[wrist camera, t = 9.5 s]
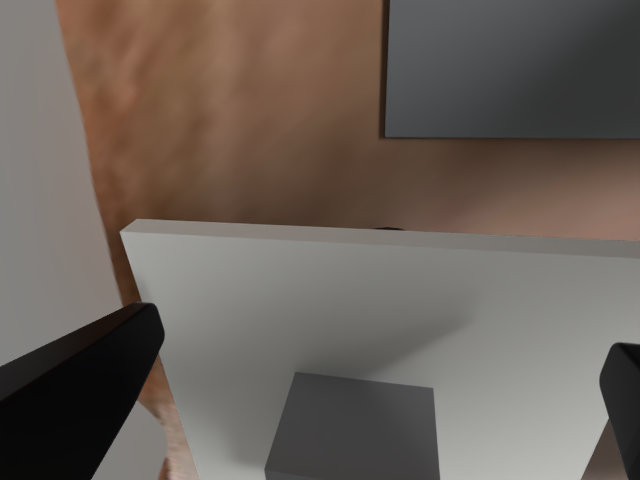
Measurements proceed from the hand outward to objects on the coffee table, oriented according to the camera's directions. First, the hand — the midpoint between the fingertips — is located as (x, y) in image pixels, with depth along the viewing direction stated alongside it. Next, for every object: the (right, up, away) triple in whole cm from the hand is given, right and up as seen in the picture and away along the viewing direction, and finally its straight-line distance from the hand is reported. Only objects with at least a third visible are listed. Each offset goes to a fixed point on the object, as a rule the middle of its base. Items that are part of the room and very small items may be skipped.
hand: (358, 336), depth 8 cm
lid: (+1, -3, +5) cm, 6 cm away
